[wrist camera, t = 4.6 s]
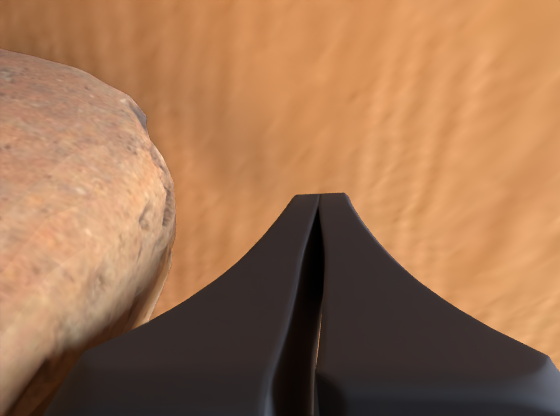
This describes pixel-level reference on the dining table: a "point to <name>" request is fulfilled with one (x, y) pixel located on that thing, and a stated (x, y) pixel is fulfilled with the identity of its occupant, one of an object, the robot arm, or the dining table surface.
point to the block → (73, 224)
